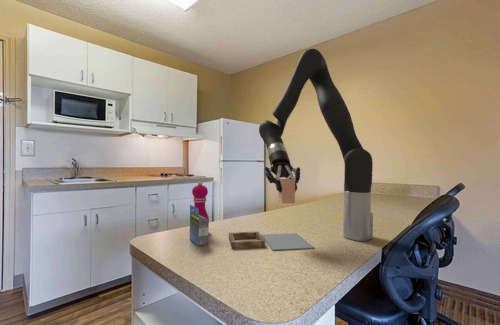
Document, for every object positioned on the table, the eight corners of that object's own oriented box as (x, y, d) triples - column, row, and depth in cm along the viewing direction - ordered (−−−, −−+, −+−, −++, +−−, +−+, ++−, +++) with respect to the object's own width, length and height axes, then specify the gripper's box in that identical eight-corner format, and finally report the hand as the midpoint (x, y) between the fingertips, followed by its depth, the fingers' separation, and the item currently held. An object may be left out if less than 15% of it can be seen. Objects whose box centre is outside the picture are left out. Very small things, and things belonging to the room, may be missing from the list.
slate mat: (296, 234, 95) (296, 233, 95) (314, 248, 79) (314, 247, 79) (261, 235, 92) (261, 234, 92) (272, 250, 77) (272, 249, 77)
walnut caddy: (258, 236, 91) (258, 231, 91) (265, 247, 80) (265, 241, 80) (228, 238, 89) (228, 232, 89) (231, 248, 78) (231, 242, 78)
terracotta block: (290, 201, 88) (290, 178, 88) (294, 203, 84) (295, 179, 84) (278, 201, 88) (278, 178, 87) (282, 203, 83) (282, 179, 83)
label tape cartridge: (209, 244, 82) (209, 207, 82) (197, 246, 80) (198, 208, 79) (199, 237, 89) (199, 203, 89) (188, 239, 87) (189, 204, 87)
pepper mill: (212, 231, 96) (213, 181, 96) (199, 236, 90) (200, 182, 90) (199, 228, 100) (199, 180, 100) (185, 233, 94) (186, 181, 94)
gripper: (262, 149, 92) (269, 184, 80) (298, 149, 95) (310, 184, 83) (258, 163, 97) (265, 197, 86) (293, 163, 100) (304, 197, 88)
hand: (287, 190), depth 84 cm, fingers closed on terracotta block, 4 cm apart
